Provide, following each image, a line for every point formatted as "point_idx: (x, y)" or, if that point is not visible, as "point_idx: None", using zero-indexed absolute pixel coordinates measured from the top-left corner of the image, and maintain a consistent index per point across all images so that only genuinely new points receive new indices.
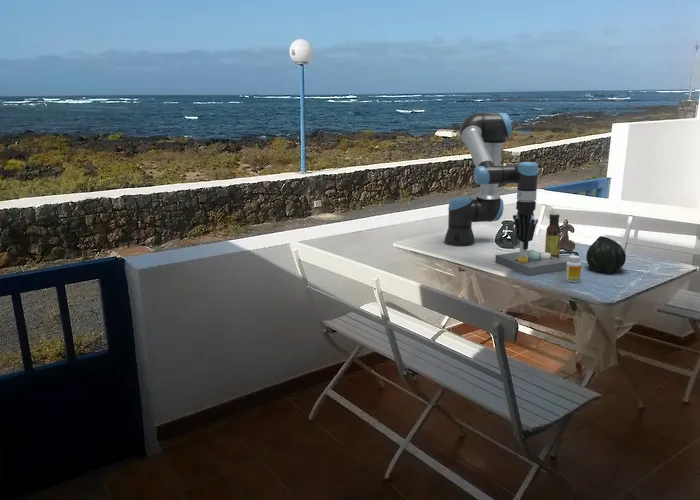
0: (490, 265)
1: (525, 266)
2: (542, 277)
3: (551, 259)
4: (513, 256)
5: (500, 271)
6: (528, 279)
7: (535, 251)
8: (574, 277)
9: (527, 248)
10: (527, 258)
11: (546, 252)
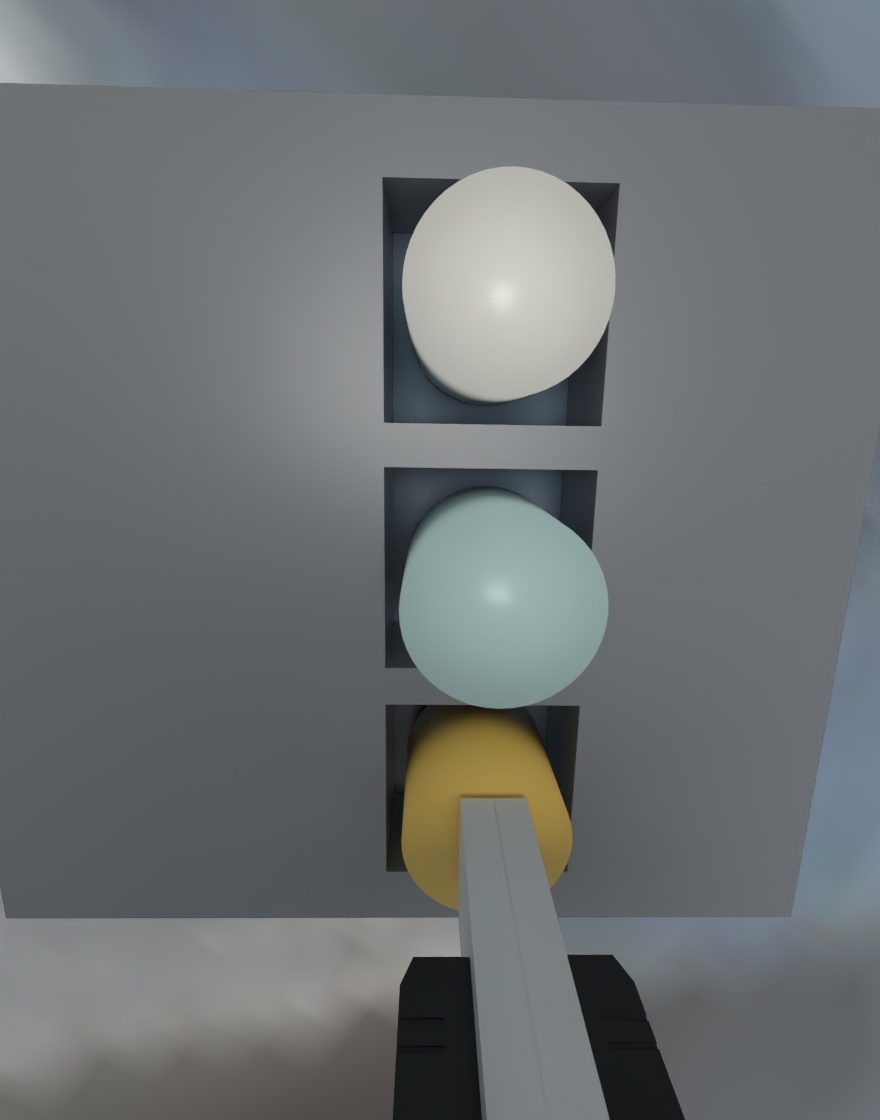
0: (166, 937)
1: (705, 913)
2: (854, 740)
3: (652, 299)
4: (185, 744)
5: None
6: (812, 908)
7: (456, 545)
8: None
9: (623, 979)
10: (560, 795)
11: (461, 209)
